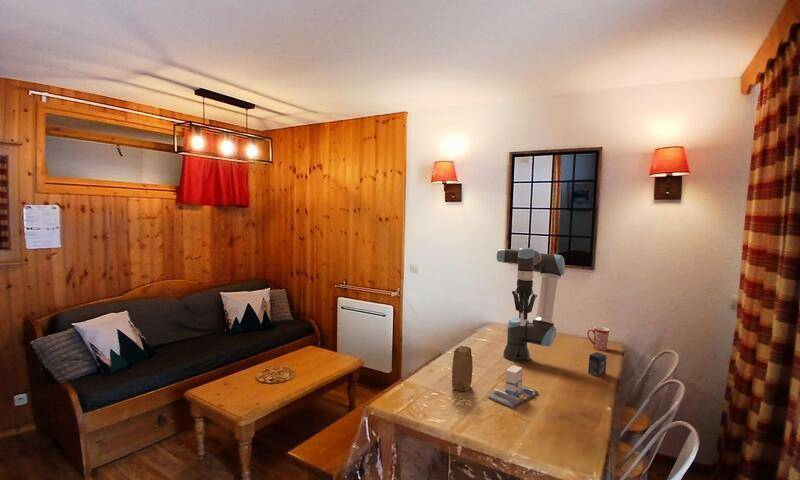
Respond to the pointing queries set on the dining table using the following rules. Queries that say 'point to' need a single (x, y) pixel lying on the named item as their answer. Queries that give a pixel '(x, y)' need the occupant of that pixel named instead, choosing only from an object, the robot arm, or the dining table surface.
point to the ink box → (514, 380)
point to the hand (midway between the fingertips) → (522, 325)
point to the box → (597, 364)
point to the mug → (600, 338)
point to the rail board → (510, 399)
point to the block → (462, 368)
